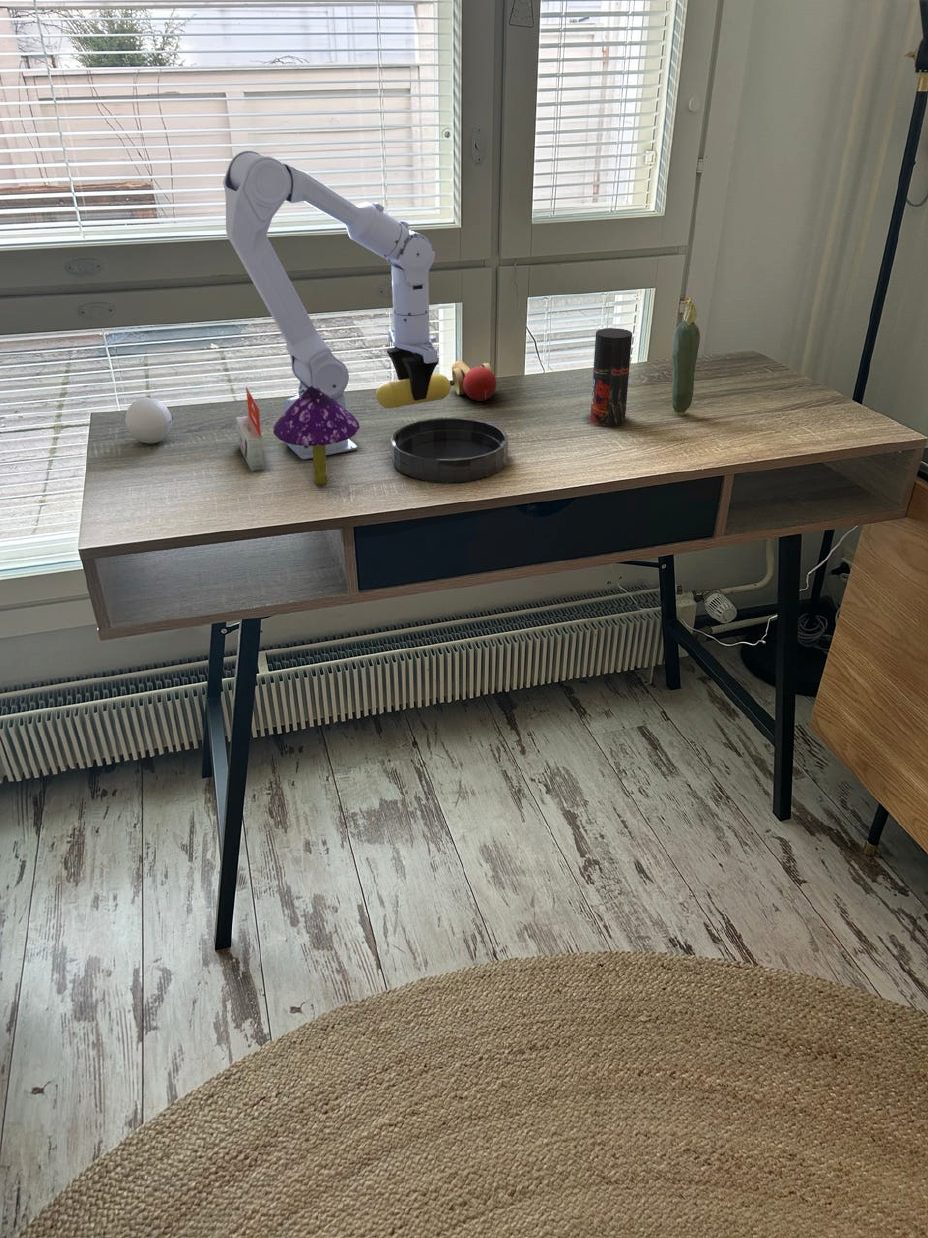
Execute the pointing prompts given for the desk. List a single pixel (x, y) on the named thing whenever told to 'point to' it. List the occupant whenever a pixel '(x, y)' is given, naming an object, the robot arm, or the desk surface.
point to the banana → (401, 392)
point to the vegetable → (685, 359)
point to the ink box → (251, 436)
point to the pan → (449, 449)
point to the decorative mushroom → (316, 426)
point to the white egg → (148, 420)
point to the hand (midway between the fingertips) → (413, 395)
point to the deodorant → (610, 376)
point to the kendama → (474, 380)
